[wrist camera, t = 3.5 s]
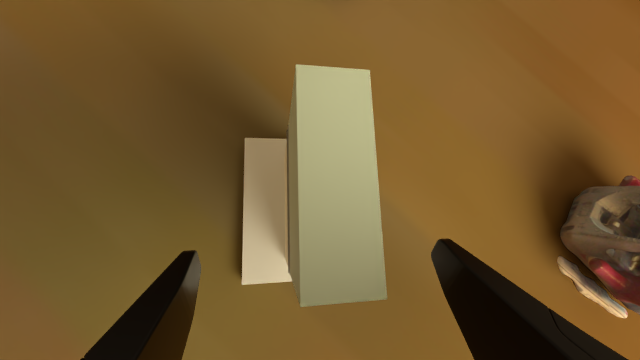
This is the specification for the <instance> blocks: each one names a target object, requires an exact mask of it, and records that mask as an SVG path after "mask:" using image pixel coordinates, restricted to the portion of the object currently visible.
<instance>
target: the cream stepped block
mask: <svg viewBox="0 0 640 360" xmlns="http://www.w3.org/2000/svg"><path fill="white" fill-rule="evenodd" d="M289 281H292V278H291V275H290V274H289V202H288V129H287V139H271V138H245V155H244V204H243V253H242V285H246V284H260V283H274V282H289Z"/></svg>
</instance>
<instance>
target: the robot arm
mask: <svg viewBox="0 0 640 360" xmlns="http://www.w3.org/2000/svg"><path fill="white" fill-rule="evenodd" d="M431 258H432V261H433V264H434V267H435V270H436V273H437V275H438V278H439V281H440V284H441V287H442V290H443V292H444V295H445V297H446V299H447V302H448V304H449V306H450V308H451V310H452V312H453V315H454V317H455V319H456V321H457V323H458V325H459V327H460V330H461V332H462V334H463V336H464V338H465V340H466V343H467V345H468V347H469V349H470V351H471V353H472V356H473V358H474V360H628V359H626V358H625V357H623V356H621V355H620V354H618V353H617V352H615V351H613V350H612V349H610V348H609V347H607V346H605V345H604V344H602V343H601V342H599V341H598V340H596V339H594V338H593V337H591V336H590V335H588V334H587V333H585V332H584V331H582V330H580V329H579V328H578V327H576V326H575V325H573V324H572V323H570V322H569V321H567V320H566V319H564V318H563V317H561V316H560V315H558V314H557V313H556V312H554V311H553V310H551V309H549V308H548V307H547V306H545V305H544V304H543V303H541V302H540V301H538V300H537V299H535V298H534V297H532V296H531V295H530V294H528V293H527V292H525V291H524V290H522V289H521V288H520V287H518V286H517V285H515V284H514V283H512V282H511V281H509V280H508V279H507V278H505V277H504V276H502V275H501V274H499V273H498V272H497V271H495V270H494V269H492V268H491V267H489V266H488V265H486V264H485V263H484V262H482V261H481V260H479V259H478V258H476V257H475V256H473V255H472V254H471V253H469V252H468V251H466V250H465V249H463V248H462V247H461V246H459V245H458V244H456V243H455V242H453V241H452V240H450V239H439V240H438V241H437V242H436V244H435V246H434V248H433V250H432V252H431ZM200 274H201V264H200V261H199V257H198V253H197V251H195V250H191V251H183V252H182V253H181V254H180V255H179V256H178V257H177V258H176V259H175V260H174V261H173V262H172V263H171V264H170V265H169V266H168V267H167V268H166V269H165V271H164V272H163V273H162V274H161V275H160V276H159V277H158V278H157V279H156V280H155V281H154V282H153V283H152V284H151V285H150V286H149V287H148V289H147V290H146V291H145V292H144V293H143V294H142V295H141V296H140V297H139V298H138V299H137V300H136V301H135V302H134V303H133V304H132V306H131V307H130V308H129V309H128V310H127V311H126V312H125V313H124V314H123V315H122V316H121V317H120V318H119V319H118V320H117V321H116V322H115V324H114V325H113V326H112V327H111V328H110V329H109V330H108V331H107V332H106V333H105V334H104V335H103V336H102V337H101V338H100V339H99V341H98V342H97V343H96V344H95V345H94V346H93V347H92V348H91V349H90V350H89V351H88V352H87V353H86V354H85V356H84V358H82V359H80V360H182V356H183V353H184V349H185V346H186V342H187V338H188V335H189V331H190V328H191V324H192V320H193V316H194V310H195V304H196V298H197V292H198V286H199V280H200Z"/></svg>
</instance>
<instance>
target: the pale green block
mask: <svg viewBox="0 0 640 360" xmlns="http://www.w3.org/2000/svg"><path fill="white" fill-rule="evenodd" d="M288 202H289V274H290V275H291V278H292V282H293V285H294V288H295V291H296V294H297V298H298V301H299V304H300V307H305V306H316V305H327V304H339V303H350V302H362V301H373V300H384V299H387V291H386V278H385V265H384V252H383V239H382V225H381V212H380V199H379V186H378V173H377V159H376V146H375V133H374V120H373V107H372V94H371V80H370V70H363V69H349V68H336V67H323V66H310V65H296V68H295V76H294V84H293V93H292V101H291V109H290V117H289V125H288Z"/></svg>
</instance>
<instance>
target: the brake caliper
mask: <svg viewBox="0 0 640 360" xmlns="http://www.w3.org/2000/svg"><path fill="white" fill-rule="evenodd" d="M560 236H561V240H562V242H563V244H564V245H565V247H566V248H567V249H568V250H569V251H571V252H572V253H573V254H575V255H576V256H577V257H578V258H579V259H580V260H581V261H582V262H583V264H584V265H585V266H587V267H588V268H589V269H590V270H591V271H592V272H593V273H594V274H595V275H596V276H597V277H598V278H599V279H600V281H601V282H602V283H603V284H604V286H605V287H606V288H607V289H608V290H609V292H610V293H611V294H612V295H613V296H614V297H615V298H616V299H618V300H620V301H621V302H622V303H623V304H624V305H625V306H626V307H627V308H628V309H631V310H633V311H634V312H636V313H638V314H639V315H640V180H638V179H637V178H636V177H634V176H626V177H625V178H624V179H623V180H622V182H621V184H620V185H619V186H603V187H590V188H587V189H585V190H583V191H582V192H581V193H580V195H579V196H577V197H575V199H574V201H573V204H572V206H571V209H570V212H569V214H568V218H567V221H566V222H565V223H564V225H563V226H562V227H561V231H560ZM557 263H558V267H559V270H560V271H561V273H562V274H563V275H566V276H568V277H570V278H571V279H572V280H573V281H574V284H575V286H576V288H577V290H578V291H579V292H580V293H582V294H583V295H584V296H586V297H587V298H589V299H591V300H592V301H594V302H597V303H598V304H599V305H601V306H603V307H604V308H605V309H606V310H607V311H608V312H610V313H612V314H613V315H615V316H617V317H622V318H627V315H628V314H627V311H626V310H625V309H624V308H623V307H622V306H620V305H619V304H618V303H617V302H615V301H614V300H612V299H611V298H610V297H609V296H608V294H607V292H606V291H605V290H604V289H602V288H601V287H600V286H598V285H597V284H596V282H595V281H594V280H592V279H591V278H588V277H585V276H584V275H583V274H582V273H581V272H580V271H579V268H578V266H577V265H576V264H574V263H572V262H570V261H568V260H566V259H565V258H563V257H562V256H558V259H557Z"/></svg>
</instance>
